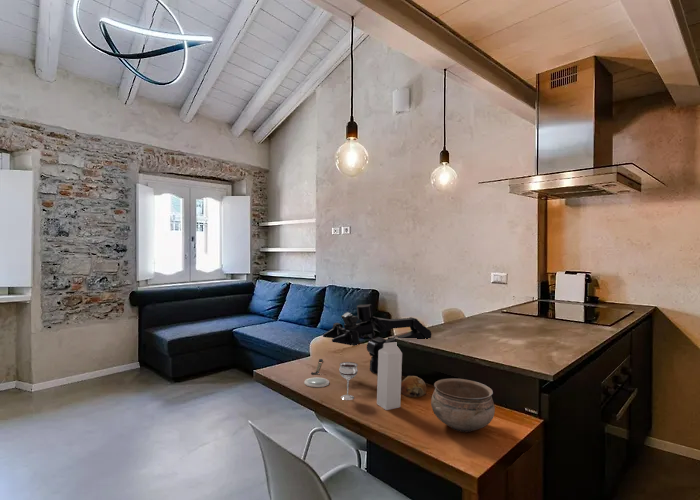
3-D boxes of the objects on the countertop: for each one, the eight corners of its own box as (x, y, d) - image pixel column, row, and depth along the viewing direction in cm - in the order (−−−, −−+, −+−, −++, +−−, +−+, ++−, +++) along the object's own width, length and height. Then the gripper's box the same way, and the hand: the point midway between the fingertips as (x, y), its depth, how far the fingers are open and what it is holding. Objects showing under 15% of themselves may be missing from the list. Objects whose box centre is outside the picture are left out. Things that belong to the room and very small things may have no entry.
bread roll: (427, 402, 149) (430, 380, 152) (421, 398, 140) (424, 375, 144) (402, 397, 153) (405, 376, 156) (395, 393, 145) (398, 371, 148)
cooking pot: (458, 407, 135) (459, 372, 135) (510, 427, 121) (512, 388, 121) (411, 426, 119) (412, 387, 119) (465, 452, 104) (467, 407, 104)
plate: (326, 378, 161) (326, 376, 161) (331, 386, 152) (331, 384, 152) (302, 379, 158) (302, 377, 158) (306, 388, 149) (306, 386, 149)
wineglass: (354, 393, 145) (355, 361, 145) (358, 400, 138) (359, 366, 138) (336, 394, 143) (337, 362, 143) (340, 401, 137) (341, 367, 137)
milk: (400, 407, 133) (403, 343, 133) (385, 410, 130) (388, 345, 130) (390, 401, 139) (392, 339, 139) (376, 403, 136) (378, 341, 136)
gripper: (348, 308, 176) (316, 315, 169) (368, 315, 159) (334, 323, 152) (351, 332, 177) (319, 340, 170) (371, 341, 160) (337, 350, 153)
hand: (327, 338), depth 161 cm, fingers open, 9 cm apart
